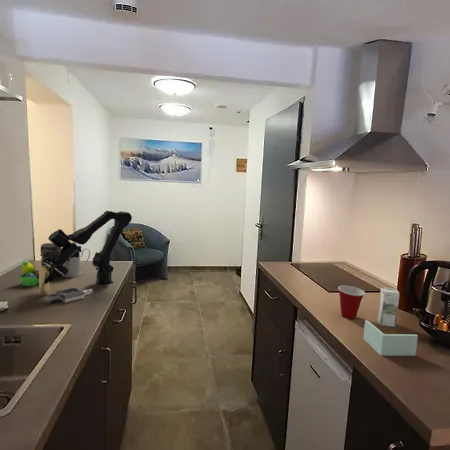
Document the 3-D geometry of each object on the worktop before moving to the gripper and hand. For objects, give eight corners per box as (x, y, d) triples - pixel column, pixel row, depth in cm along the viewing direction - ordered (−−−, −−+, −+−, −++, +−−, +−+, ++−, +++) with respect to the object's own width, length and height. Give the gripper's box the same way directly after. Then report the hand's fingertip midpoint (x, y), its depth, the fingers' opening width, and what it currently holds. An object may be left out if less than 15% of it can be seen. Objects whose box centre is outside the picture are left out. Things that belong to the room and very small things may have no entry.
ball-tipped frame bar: (87, 290, 164) (87, 284, 164) (97, 294, 159) (97, 288, 158) (41, 301, 148) (40, 294, 147) (50, 306, 142) (49, 299, 142)
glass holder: (61, 274, 189) (60, 247, 187) (86, 270, 199) (86, 244, 197) (67, 277, 183) (66, 250, 181) (93, 273, 193) (93, 247, 191)
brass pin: (47, 292, 159) (46, 265, 157) (50, 294, 156) (50, 266, 155) (37, 294, 156) (37, 266, 154) (41, 296, 153) (41, 268, 152)
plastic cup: (360, 324, 137) (362, 295, 136) (332, 317, 143) (335, 289, 141) (365, 315, 146) (367, 288, 145) (339, 309, 152) (341, 283, 150)
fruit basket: (34, 287, 166) (34, 264, 164) (16, 286, 166) (15, 263, 164) (46, 280, 177) (46, 259, 176) (29, 279, 177) (28, 258, 176)
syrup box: (392, 322, 140) (395, 288, 138) (395, 328, 135) (399, 292, 133) (377, 320, 142) (380, 286, 140) (380, 326, 136) (384, 291, 134)
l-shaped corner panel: (415, 357, 113) (417, 335, 112) (380, 357, 112) (382, 335, 112) (394, 340, 125) (396, 320, 124) (363, 340, 124) (365, 320, 123)
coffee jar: (64, 276, 185) (64, 242, 183) (55, 280, 177) (55, 245, 175) (48, 275, 186) (47, 241, 184) (38, 279, 178) (37, 244, 176)
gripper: (44, 239, 162) (19, 266, 156) (60, 246, 150) (33, 274, 143) (62, 254, 169) (38, 279, 162) (78, 261, 156) (54, 289, 150)
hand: (40, 280), depth 154 cm, fingers open, 9 cm apart
